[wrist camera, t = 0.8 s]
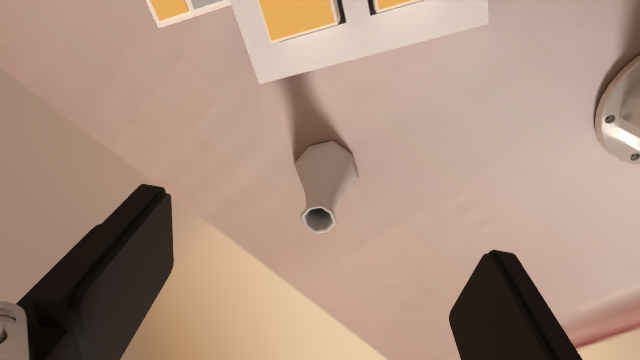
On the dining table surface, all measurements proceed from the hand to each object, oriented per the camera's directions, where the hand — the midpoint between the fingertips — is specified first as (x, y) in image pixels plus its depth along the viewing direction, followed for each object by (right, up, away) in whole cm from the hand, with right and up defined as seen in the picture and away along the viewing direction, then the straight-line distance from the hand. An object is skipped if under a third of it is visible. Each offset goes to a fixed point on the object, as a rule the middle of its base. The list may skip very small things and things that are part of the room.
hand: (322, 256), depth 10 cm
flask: (+1, +4, +30) cm, 30 cm away
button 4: (-1, +18, +18) cm, 25 cm away
